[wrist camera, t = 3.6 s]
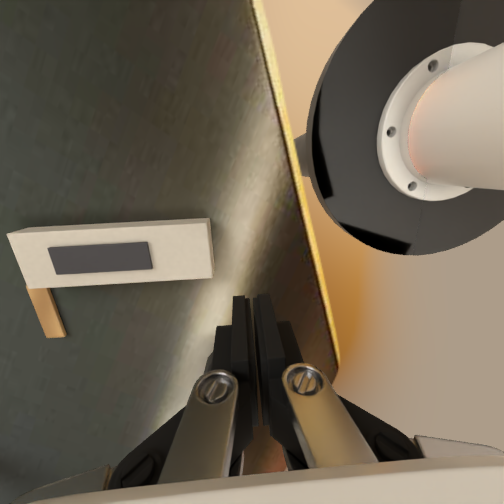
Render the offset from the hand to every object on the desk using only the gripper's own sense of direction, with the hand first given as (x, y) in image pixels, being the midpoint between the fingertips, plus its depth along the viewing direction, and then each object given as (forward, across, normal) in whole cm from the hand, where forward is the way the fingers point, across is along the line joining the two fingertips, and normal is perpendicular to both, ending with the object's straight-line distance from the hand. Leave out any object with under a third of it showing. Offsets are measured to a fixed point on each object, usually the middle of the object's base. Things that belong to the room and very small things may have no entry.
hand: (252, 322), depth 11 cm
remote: (+12, +11, 0) cm, 17 cm away
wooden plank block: (+13, +20, +6) cm, 24 cm away
